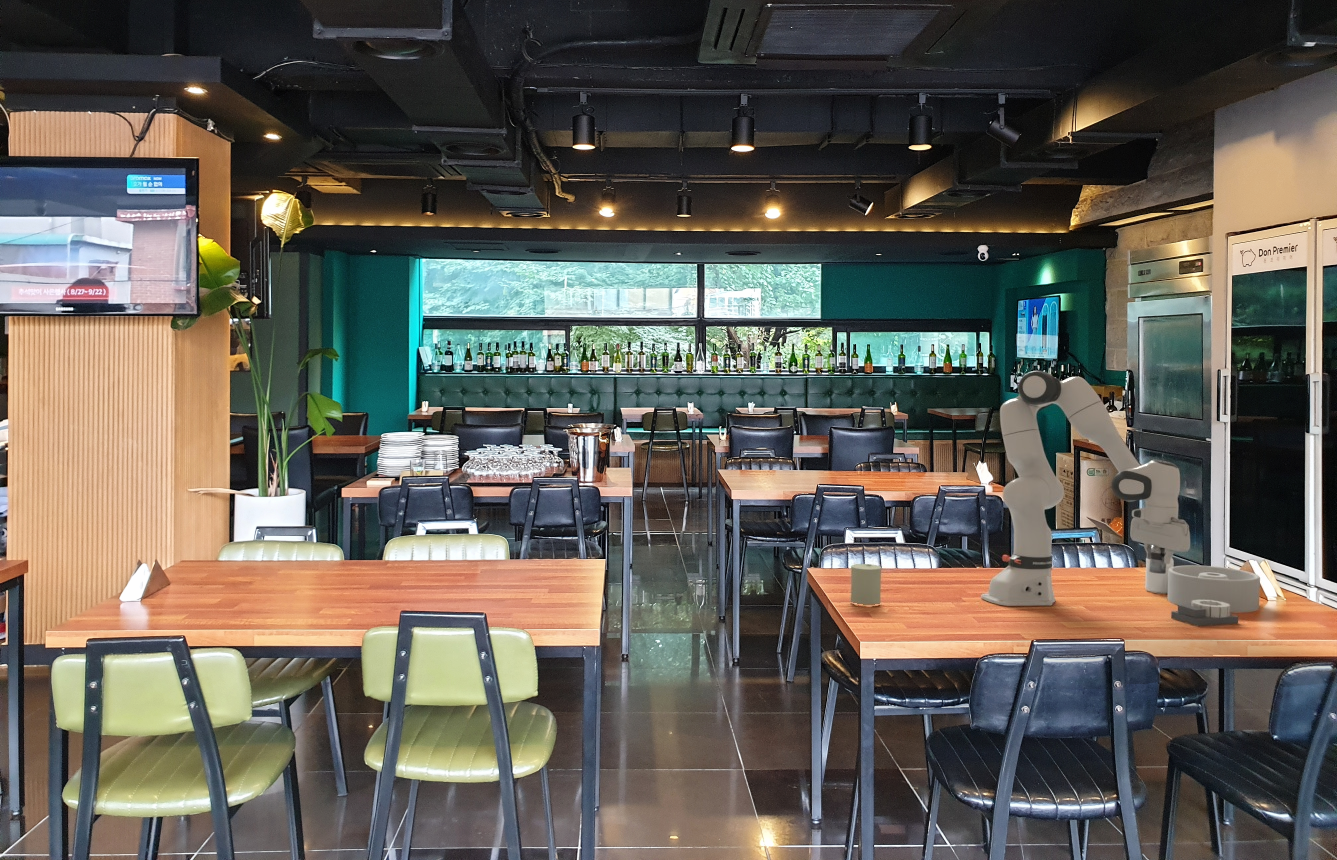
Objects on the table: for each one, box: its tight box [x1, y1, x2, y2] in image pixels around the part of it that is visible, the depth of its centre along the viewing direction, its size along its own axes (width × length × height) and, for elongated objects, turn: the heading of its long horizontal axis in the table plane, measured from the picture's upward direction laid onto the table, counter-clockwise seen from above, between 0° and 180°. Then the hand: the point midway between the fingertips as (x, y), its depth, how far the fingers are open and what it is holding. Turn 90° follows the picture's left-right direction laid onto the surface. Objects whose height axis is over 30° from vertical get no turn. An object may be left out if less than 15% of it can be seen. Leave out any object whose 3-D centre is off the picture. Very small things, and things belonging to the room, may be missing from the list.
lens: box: [1149, 545, 1166, 574], centre depth 295 cm, size 5×5×8 cm
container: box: [1167, 565, 1261, 614], centre depth 310 cm, size 25×25×10 cm
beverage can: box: [1144, 556, 1175, 595], centre depth 327 cm, size 8×8×12 cm
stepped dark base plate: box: [1170, 600, 1239, 627], centre depth 287 cm, size 14×10×5 cm
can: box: [850, 563, 882, 605], centre depth 305 cm, size 9×9×12 cm
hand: (1158, 561), depth 295 cm, fingers closed on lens, 5 cm apart
